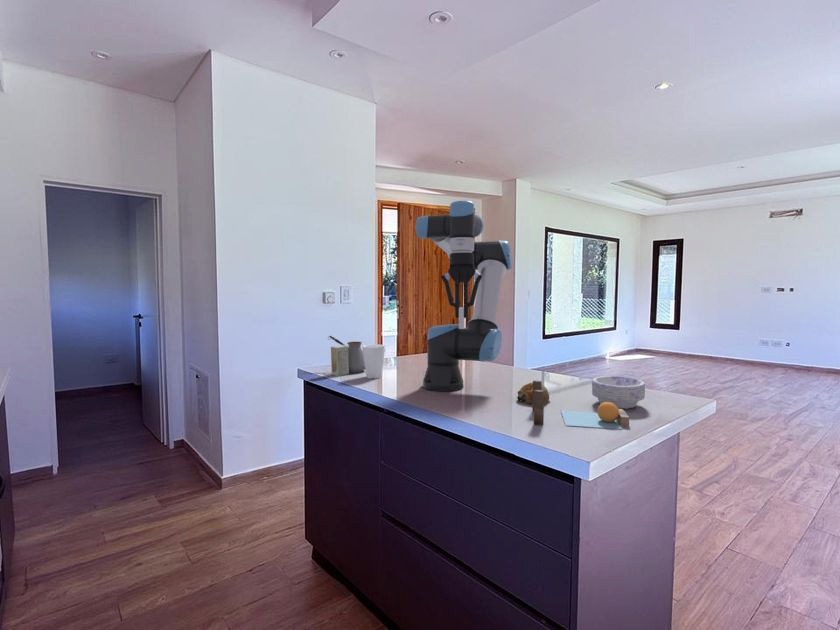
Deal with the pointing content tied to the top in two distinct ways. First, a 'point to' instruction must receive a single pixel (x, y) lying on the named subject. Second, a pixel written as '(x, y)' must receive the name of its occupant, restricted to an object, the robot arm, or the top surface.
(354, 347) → the coffee pot
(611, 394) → the grey stone bowl
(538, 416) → the post
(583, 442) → the top surface
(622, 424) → the wall
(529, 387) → the bread roll
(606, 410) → the ball
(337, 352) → the skincare box
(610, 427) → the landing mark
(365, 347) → the foam cup
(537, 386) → the post
